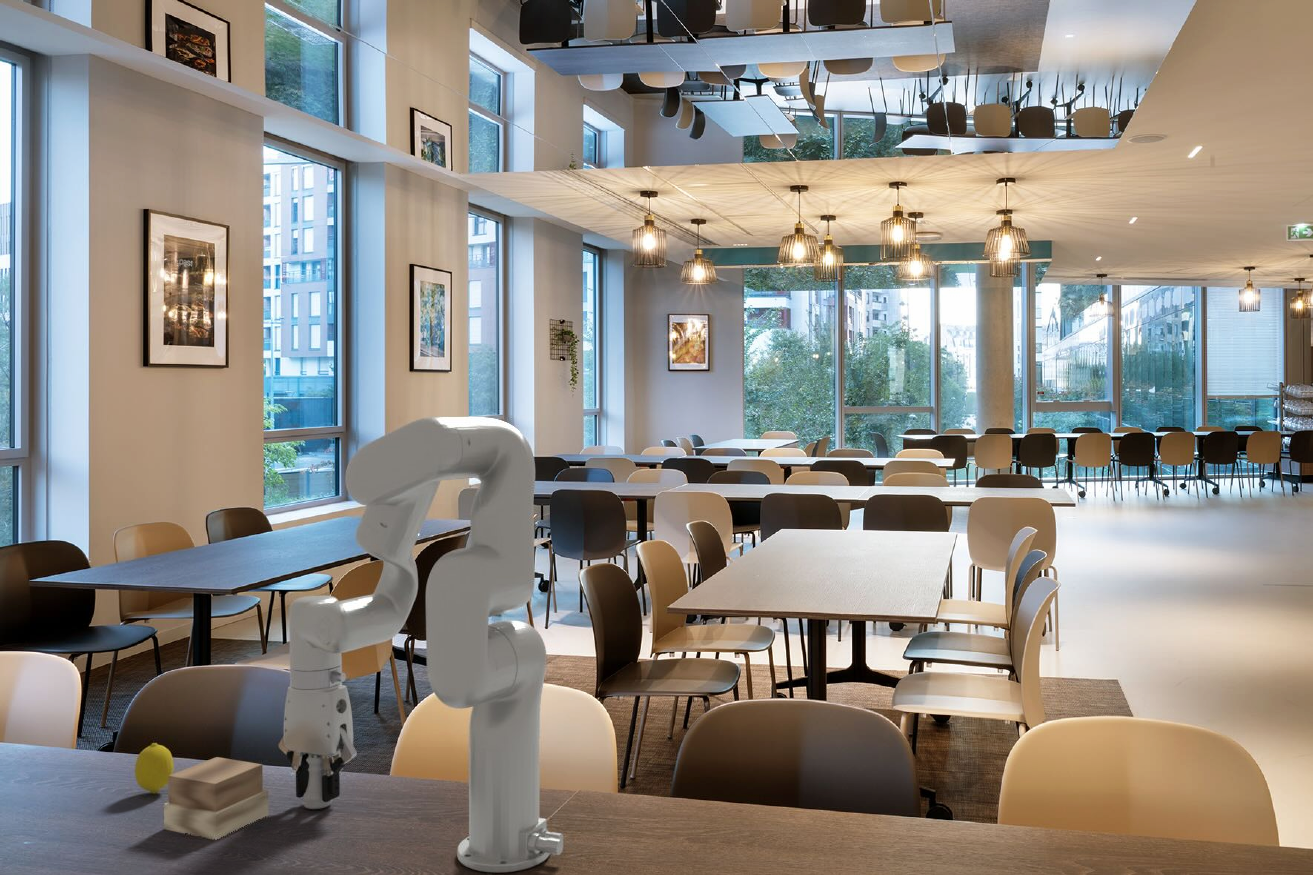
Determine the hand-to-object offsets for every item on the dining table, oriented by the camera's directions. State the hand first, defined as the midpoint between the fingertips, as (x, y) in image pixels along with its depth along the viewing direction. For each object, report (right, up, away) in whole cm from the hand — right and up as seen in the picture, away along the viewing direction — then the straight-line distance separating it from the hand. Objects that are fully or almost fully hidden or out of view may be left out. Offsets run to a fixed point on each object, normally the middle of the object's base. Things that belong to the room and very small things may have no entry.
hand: (317, 795), depth 159 cm
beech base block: (-13, -2, -6) cm, 14 cm away
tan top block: (-13, +2, -6) cm, 14 cm away
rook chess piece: (0, -2, 0) cm, 2 cm away
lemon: (-28, -2, +5) cm, 28 cm away
